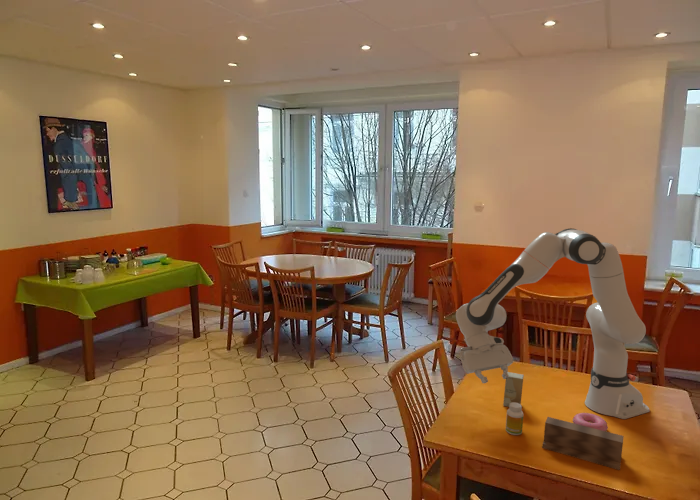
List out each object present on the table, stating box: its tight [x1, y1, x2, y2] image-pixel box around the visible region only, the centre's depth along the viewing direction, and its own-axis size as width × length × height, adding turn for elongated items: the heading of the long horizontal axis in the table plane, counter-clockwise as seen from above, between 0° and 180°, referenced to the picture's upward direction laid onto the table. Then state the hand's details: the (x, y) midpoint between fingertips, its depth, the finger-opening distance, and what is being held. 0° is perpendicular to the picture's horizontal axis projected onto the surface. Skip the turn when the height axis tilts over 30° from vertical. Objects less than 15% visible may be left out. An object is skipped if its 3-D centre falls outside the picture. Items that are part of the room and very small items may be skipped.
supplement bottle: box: [505, 402, 524, 436], centre depth 166 cm, size 5×5×10 cm
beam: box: [541, 416, 625, 471], centre depth 154 cm, size 22×8×8 cm, turn 59°
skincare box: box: [502, 371, 524, 408], centre depth 184 cm, size 6×4×12 cm
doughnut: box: [572, 412, 609, 432], centre depth 169 cm, size 11×11×4 cm
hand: (496, 380), depth 174 cm, fingers open, 8 cm apart
